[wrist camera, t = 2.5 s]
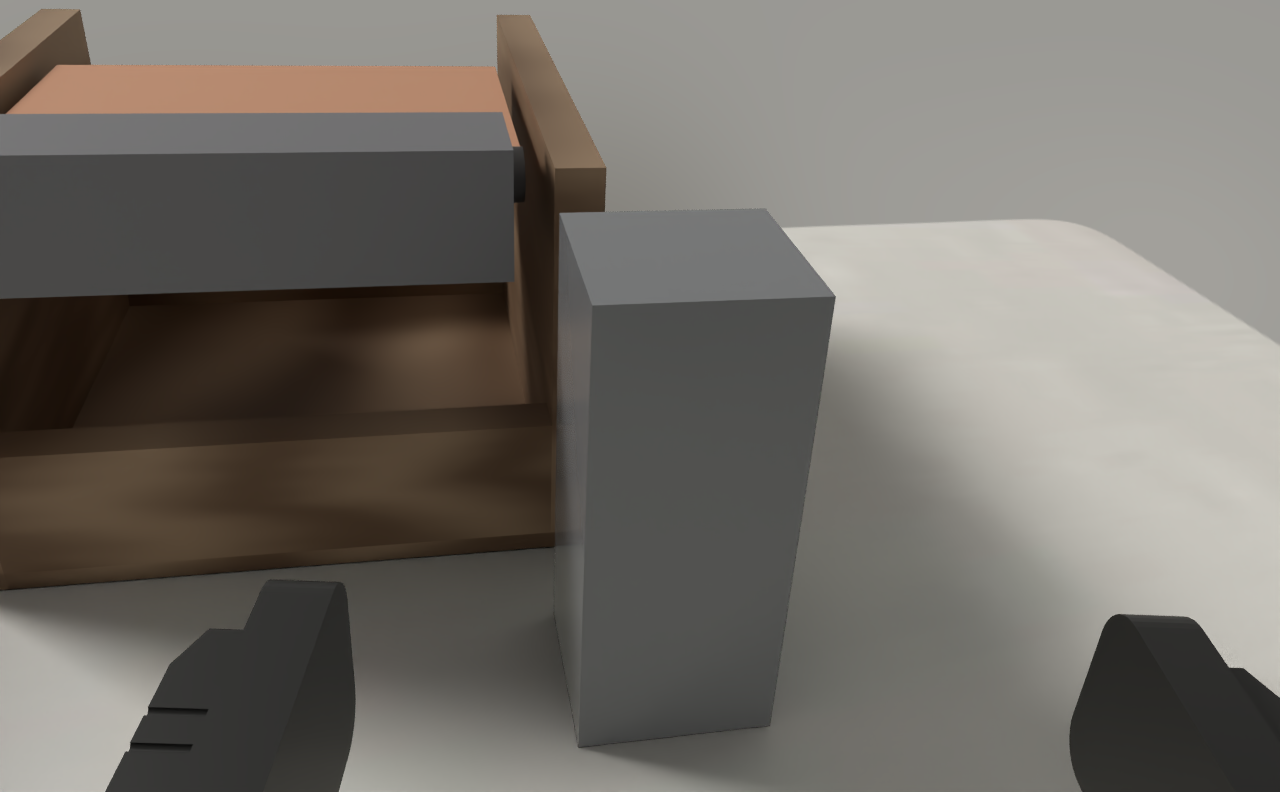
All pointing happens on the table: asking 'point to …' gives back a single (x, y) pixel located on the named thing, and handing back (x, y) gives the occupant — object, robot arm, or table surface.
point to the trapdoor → (256, 179)
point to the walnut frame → (291, 391)
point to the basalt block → (680, 464)
